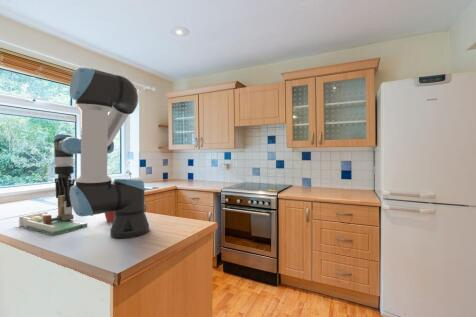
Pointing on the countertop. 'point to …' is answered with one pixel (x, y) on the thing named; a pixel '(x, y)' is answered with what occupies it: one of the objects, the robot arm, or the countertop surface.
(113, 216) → the flower pot
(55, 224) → the pitch
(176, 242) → the countertop surface
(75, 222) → the rail
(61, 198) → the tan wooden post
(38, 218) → the ball
